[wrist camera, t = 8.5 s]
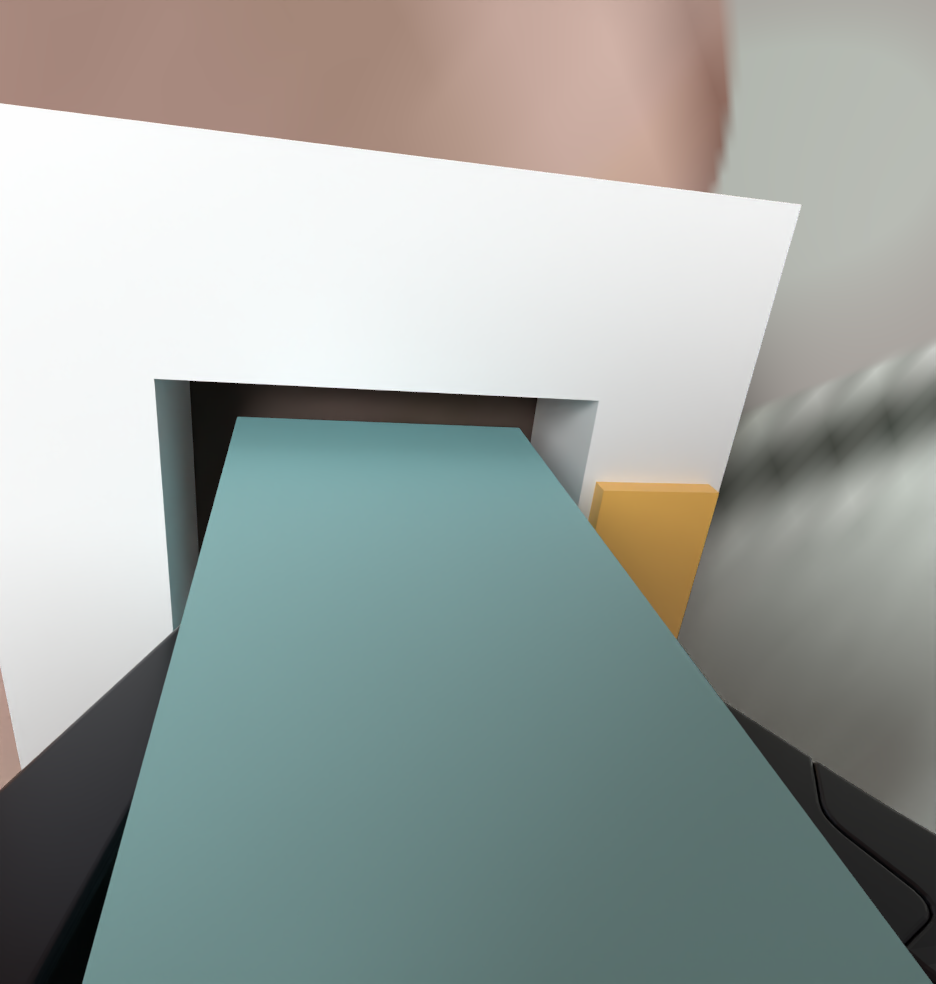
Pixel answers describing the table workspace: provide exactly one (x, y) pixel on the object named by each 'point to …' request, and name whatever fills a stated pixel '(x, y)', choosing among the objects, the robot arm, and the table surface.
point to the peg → (452, 750)
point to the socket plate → (335, 351)
